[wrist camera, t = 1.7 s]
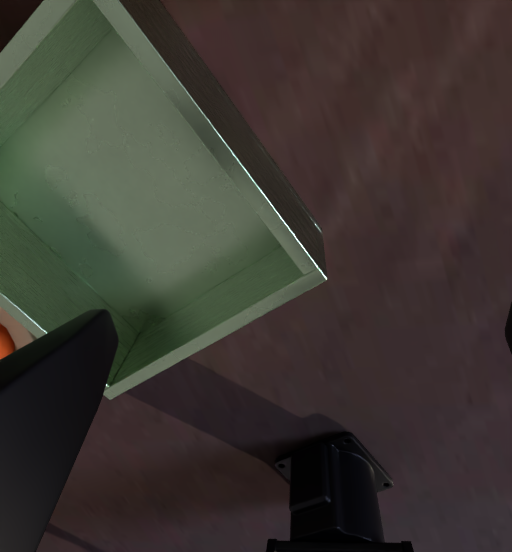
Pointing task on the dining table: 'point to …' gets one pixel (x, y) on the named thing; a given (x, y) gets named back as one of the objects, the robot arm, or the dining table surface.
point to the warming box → (138, 189)
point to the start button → (5, 342)
